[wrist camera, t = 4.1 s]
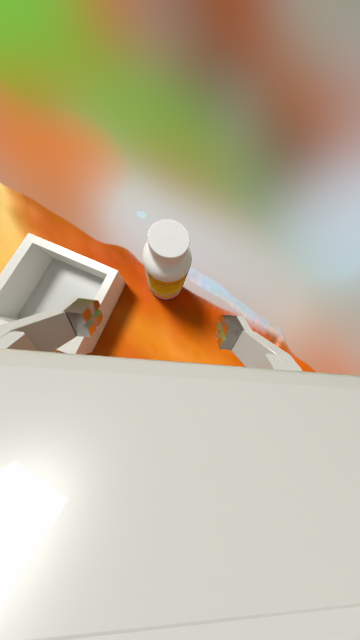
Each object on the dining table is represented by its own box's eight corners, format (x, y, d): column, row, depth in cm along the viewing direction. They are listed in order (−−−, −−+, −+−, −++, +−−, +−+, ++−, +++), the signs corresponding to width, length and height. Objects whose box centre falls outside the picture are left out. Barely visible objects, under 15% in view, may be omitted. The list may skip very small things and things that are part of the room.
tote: (126, 283, 26) (118, 270, 21) (92, 352, 24) (74, 356, 19) (54, 253, 25) (28, 232, 20) (11, 322, 23) (-30, 318, 18)
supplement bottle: (185, 296, 28) (205, 261, 15) (153, 303, 27) (146, 272, 14) (177, 265, 28) (189, 207, 16) (145, 271, 27) (131, 214, 15)
